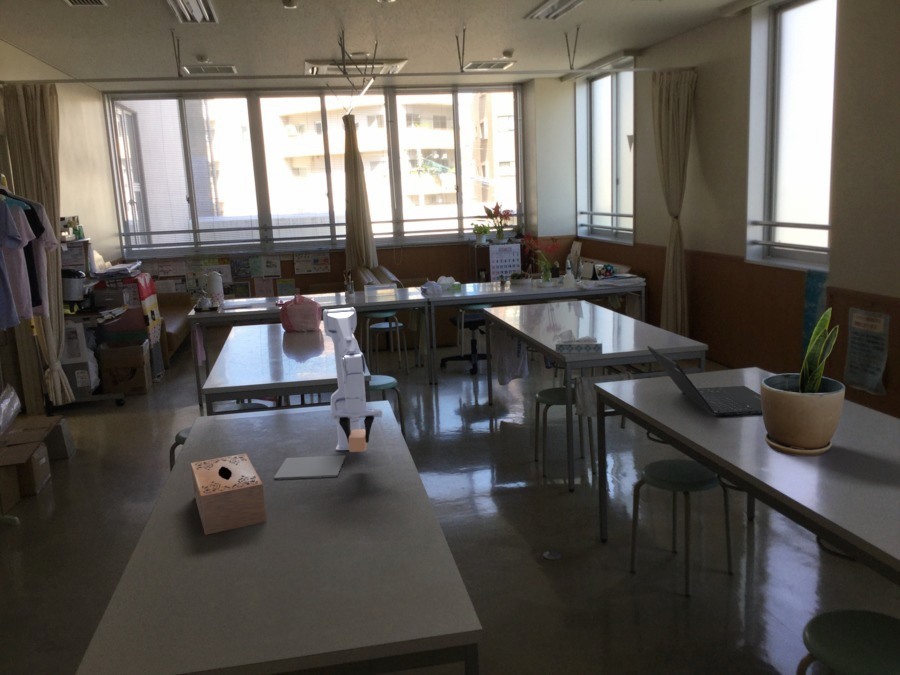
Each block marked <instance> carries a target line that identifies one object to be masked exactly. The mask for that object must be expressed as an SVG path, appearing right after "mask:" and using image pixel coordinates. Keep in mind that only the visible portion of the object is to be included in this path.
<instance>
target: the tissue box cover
mask: <svg viewBox="0 0 900 675" xmlns="http://www.w3.org/2000/svg"><path fill="white" fill-rule="evenodd" d="M190 467H191V468H190V469H191V476H192V485H193V494H194V500H195V499H196V500H195V503H196V505H197V509H198V514H199V517H200V520H201V525H202V529H203V532H204V535H205V536H207V535H212V534H216V533H220V532H225V531H229V530H233V529H239V528H242V527H244V528H245V527H248V526H252V525H257V524H263V523H266V522H267V513H266V503H265V502H266V501H265V494H264V493H265V492H264V485H263V484H264V483H263V482H262V480H261V478H260V476H259V475H258V473H257V471H256V469H255V467H254V465H253V464H252V461H251V460H250V458H249V455H248V454H247V453H246V452H245V453H240V454H234V455H233V454H232V455H227V456H222V457H216V458H212V459H206V460H201V461H194V462H190Z"/></svg>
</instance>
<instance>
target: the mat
mask: <svg viewBox="0 0 900 675" xmlns="http://www.w3.org/2000/svg"><path fill="white" fill-rule="evenodd" d="M346 458H347V457H346V455H327V456H326V455H320V456H304V457H303V456H301V457H285V460H284V461H283V462H282V464H281V465H280V468H278V471H277V472H276V474H275V475H274V476H273V480H274V479H278V480H297V479H298V480H299V479H317V478H320V479H321V478H322V477H323V478H337V477H336V476H338V477H339V474H340V472H339V471H341V469H342V467H343V465H344V462H343V461H345V460H346ZM344 459H345V460H344ZM342 464H343V465H342ZM341 466H342V467H341Z"/></svg>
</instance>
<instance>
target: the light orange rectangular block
mask: <svg viewBox="0 0 900 675" xmlns="http://www.w3.org/2000/svg"><path fill="white" fill-rule="evenodd" d="M368 444H369V442H368V443H366V432H365V428H362V429H356V430H352V432H351V434H350V436H349V450H348V451H349V453H357V452H358V453H359V452H366V450H367V448H368Z"/></svg>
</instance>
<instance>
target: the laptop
mask: <svg viewBox="0 0 900 675" xmlns="http://www.w3.org/2000/svg"><path fill="white" fill-rule="evenodd" d="M647 349H648V350H649V352H650V354H651V355H652V356H653V357H654V358H655V360H656V361H657V363H659V365H660V366H661V367H662V369H663V371H665V373H666V374H667V375H668V377H670V379H671V380H672V382H673V383H674V384H675V385H676V387H677V388H678V389H679V390H680V391H681V393H682V394H685V395H686V396H687V397H689V398H691V400H693V401H695V402H696V403H697V404H699V405H700V406H701V407H703V408H705V409H706V410H707V411H709V412H710V413H711V414H712V415H714V416H716V417H721V416H722V417H724V416H726V417H727V416H742V415H748V416H749V415H759V414H760V415H761V414H762V406H761V393H760V394H759V393H758V392H756V391H755V390H752V389H751V388H749V387H748V386H745V385H739V386H738V385H736V386H735V385H734V386H717V387H715V386H714V387H701V388H700V387H699V388H697V387H696V386H695V385H694V383H693V382H692V380H691V379H689V377H688V376H687V375H686V373H685V372H684V371H683V369H682V368H681V367H680V365H679V364H678V363H677V362H675V361H673V360H672V359H670V358H668V357H667V356H665V354H662V353H661V352H659V351H658V350H656V349H654V348H652V347H651V346H649V345H648V346H647ZM762 415H763V414H762Z"/></svg>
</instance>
